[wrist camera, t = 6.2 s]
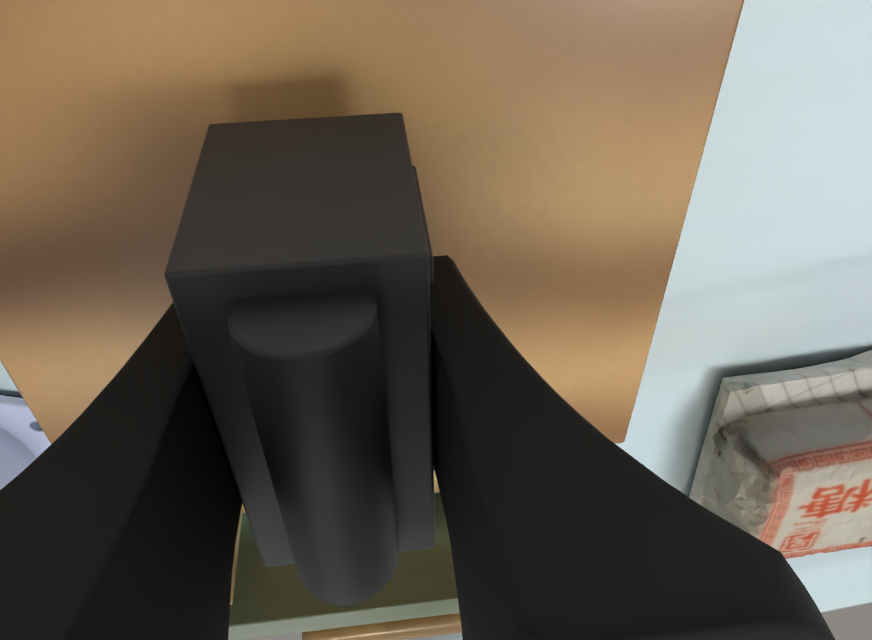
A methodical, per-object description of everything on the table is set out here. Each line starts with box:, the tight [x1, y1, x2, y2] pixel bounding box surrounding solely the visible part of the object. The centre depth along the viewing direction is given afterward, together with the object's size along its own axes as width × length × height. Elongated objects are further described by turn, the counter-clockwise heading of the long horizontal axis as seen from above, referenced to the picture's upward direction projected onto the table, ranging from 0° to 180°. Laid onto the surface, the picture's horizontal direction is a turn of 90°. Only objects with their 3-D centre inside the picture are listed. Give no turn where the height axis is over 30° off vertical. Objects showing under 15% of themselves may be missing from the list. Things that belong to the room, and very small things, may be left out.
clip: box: [164, 113, 435, 605], centre depth 10 cm, size 6×3×5 cm, turn 1°
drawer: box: [228, 470, 462, 640], centre depth 25 cm, size 16×13×5 cm
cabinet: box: [0, 0, 744, 444], centre depth 16 cm, size 13×14×7 cm
